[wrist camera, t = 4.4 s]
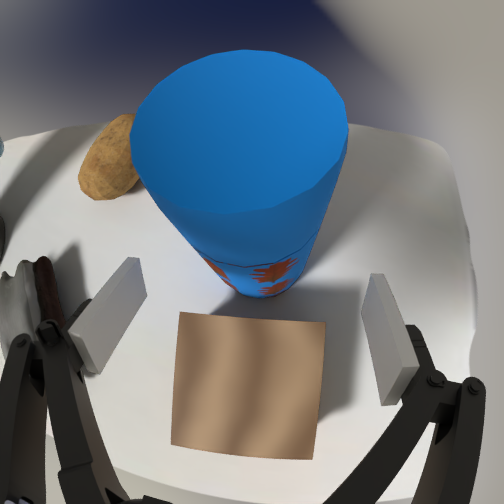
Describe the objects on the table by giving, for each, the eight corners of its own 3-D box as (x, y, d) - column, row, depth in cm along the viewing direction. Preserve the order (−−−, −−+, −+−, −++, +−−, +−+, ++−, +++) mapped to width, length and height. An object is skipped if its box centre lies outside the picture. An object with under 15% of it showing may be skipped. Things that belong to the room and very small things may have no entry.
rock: (95, 382, 34) (60, 388, 26) (45, 396, 33) (10, 401, 26) (65, 261, 39) (32, 246, 31) (20, 286, 39) (-12, 276, 31)
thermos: (317, 283, 35) (393, 177, 11) (231, 311, 35) (141, 255, 11) (287, 203, 38) (297, 35, 14) (207, 229, 38) (123, 83, 14)
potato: (173, 138, 43) (156, 104, 35) (133, 220, 40) (106, 195, 32) (124, 132, 44) (104, 102, 37) (85, 206, 41) (56, 182, 33)
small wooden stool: (189, 426, 32) (170, 444, 25) (197, 316, 35) (179, 311, 29) (305, 438, 30) (312, 459, 24) (316, 325, 34) (325, 322, 27)
